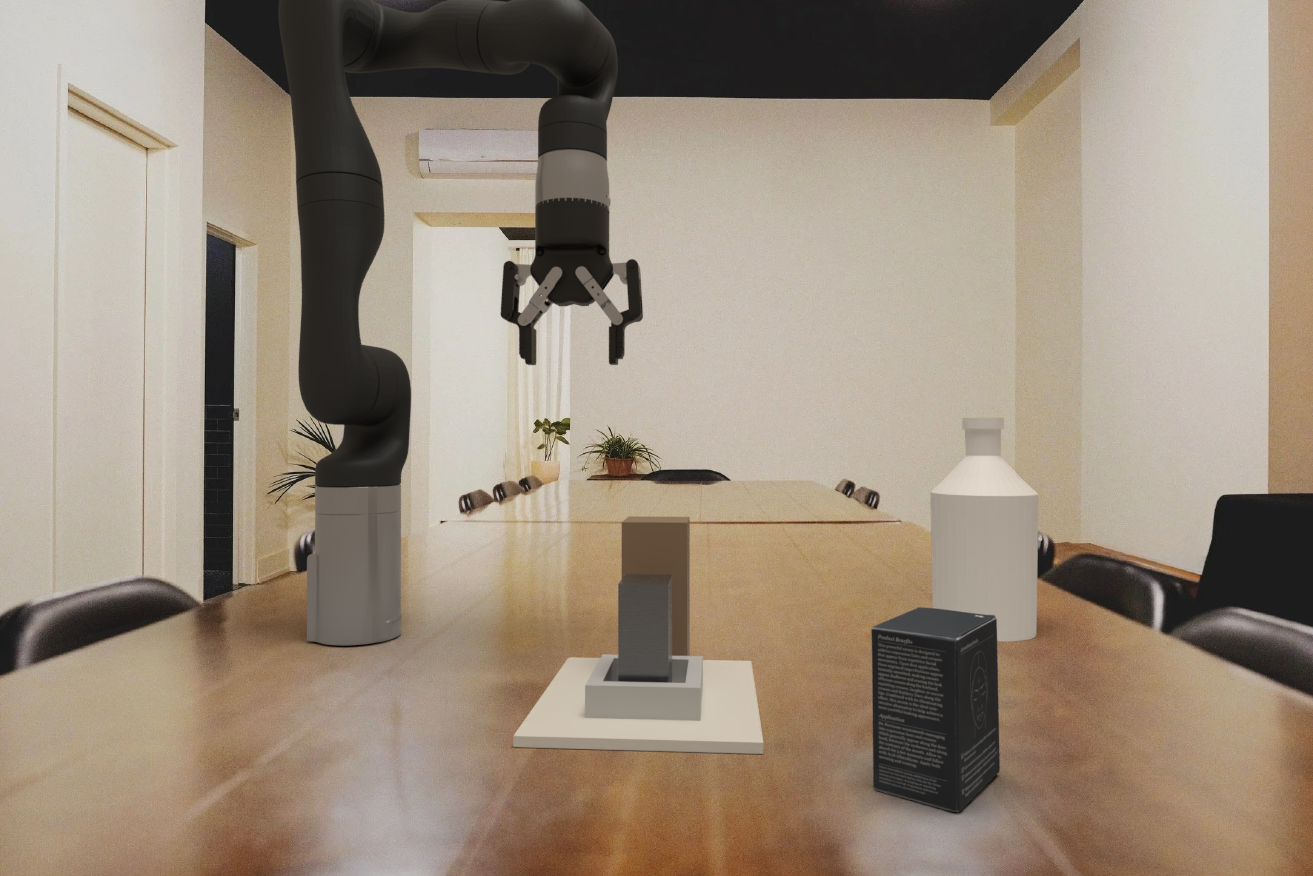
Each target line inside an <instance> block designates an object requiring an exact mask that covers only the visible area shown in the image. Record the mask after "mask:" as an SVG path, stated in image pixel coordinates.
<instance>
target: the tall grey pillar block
mask: <svg viewBox="0 0 1313 876" xmlns="http://www.w3.org/2000/svg"><path fill="white" fill-rule="evenodd" d="M617 589H618V591H617V595H618V596H617V598H618V599H617V601H618V602H617V604H618V605H617V623H618V625H617V627H618V628H617V632H618V633H617V635H618V636H617V638H618V639H617V641H618V642H617V647H618V649H617V655H618V682H661V683H672V575H662V574H625V575H624V577H623V578H622V577H621V579H620V581H619V582H618V584H617Z"/></svg>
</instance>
